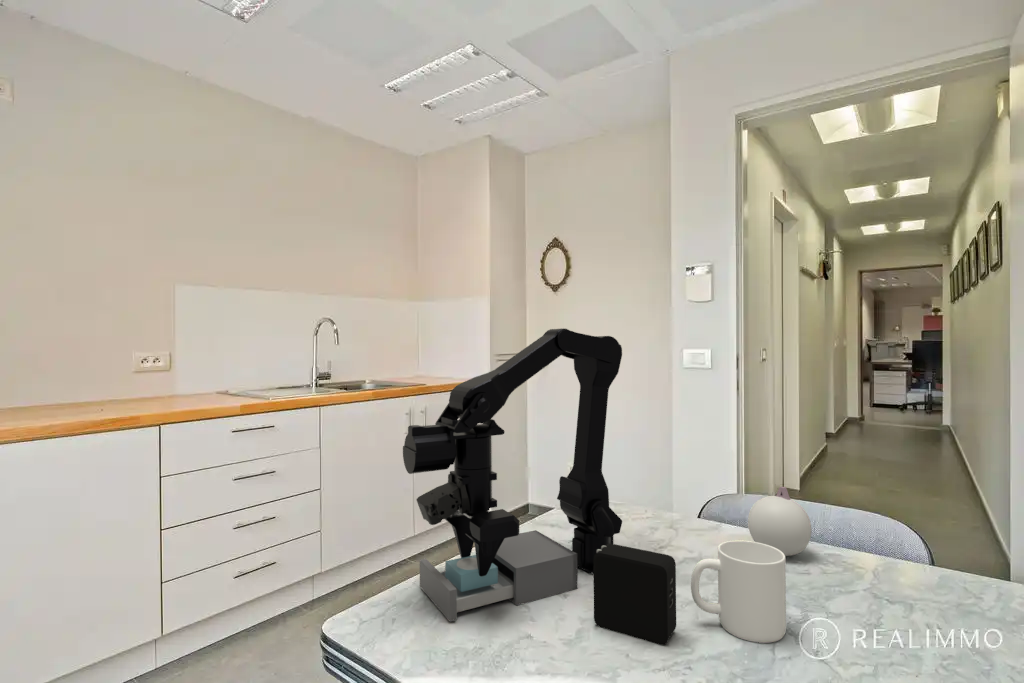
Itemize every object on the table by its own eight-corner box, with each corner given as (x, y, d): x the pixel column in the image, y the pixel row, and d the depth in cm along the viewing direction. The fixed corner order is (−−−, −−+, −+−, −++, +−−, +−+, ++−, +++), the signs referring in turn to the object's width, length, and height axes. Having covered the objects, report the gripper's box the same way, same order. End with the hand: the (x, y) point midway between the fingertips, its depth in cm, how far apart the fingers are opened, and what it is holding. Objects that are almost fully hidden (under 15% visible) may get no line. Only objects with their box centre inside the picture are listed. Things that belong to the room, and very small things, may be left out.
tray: (483, 571, 89) (483, 546, 89) (520, 602, 78) (520, 573, 78) (419, 586, 84) (419, 559, 84) (449, 621, 73) (449, 590, 73)
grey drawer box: (536, 560, 94) (535, 530, 94) (577, 588, 83) (577, 553, 83) (479, 574, 89) (479, 541, 89) (516, 605, 78) (516, 568, 78)
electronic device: (667, 647, 67) (666, 567, 67) (593, 625, 72) (593, 551, 72) (676, 632, 70) (675, 556, 71) (605, 612, 76) (604, 542, 76)
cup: (797, 646, 67) (796, 565, 67) (698, 640, 68) (697, 561, 68) (772, 613, 75) (771, 541, 75) (684, 609, 77) (684, 538, 77)
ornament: (813, 550, 98) (812, 484, 98) (809, 569, 90) (808, 498, 90) (753, 539, 104) (752, 477, 104) (744, 557, 95) (743, 490, 95)
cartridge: (480, 568, 85) (480, 552, 85) (497, 583, 80) (497, 566, 80) (445, 576, 82) (445, 560, 82) (460, 592, 77) (460, 574, 77)
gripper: (403, 460, 86) (403, 557, 86) (446, 486, 70) (447, 606, 69) (466, 453, 91) (467, 544, 91) (520, 475, 75) (521, 587, 75)
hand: (473, 567), depth 81 cm, fingers closed on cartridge, 6 cm apart
